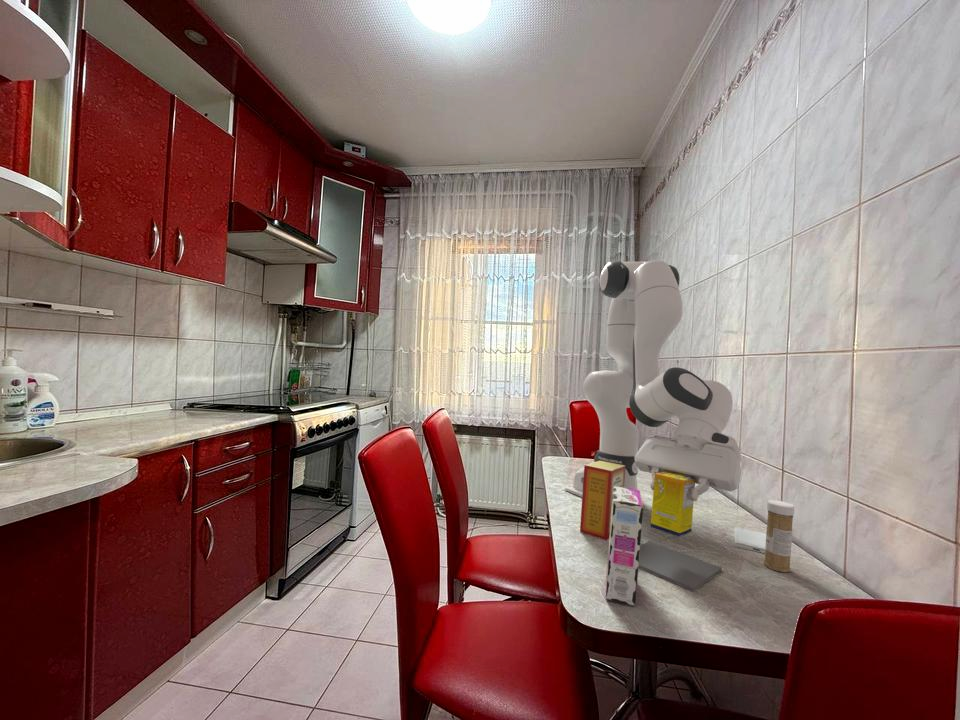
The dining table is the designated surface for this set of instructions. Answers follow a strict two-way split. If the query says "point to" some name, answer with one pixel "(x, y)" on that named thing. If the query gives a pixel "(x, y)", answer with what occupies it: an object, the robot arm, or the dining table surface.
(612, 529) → the candy bar box
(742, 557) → the dining table surface
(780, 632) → the dining table surface
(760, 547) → the hard drive
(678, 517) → the supplement box
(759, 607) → the dining table surface
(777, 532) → the sprinkles bottle
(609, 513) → the baking soda box
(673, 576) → the mat
